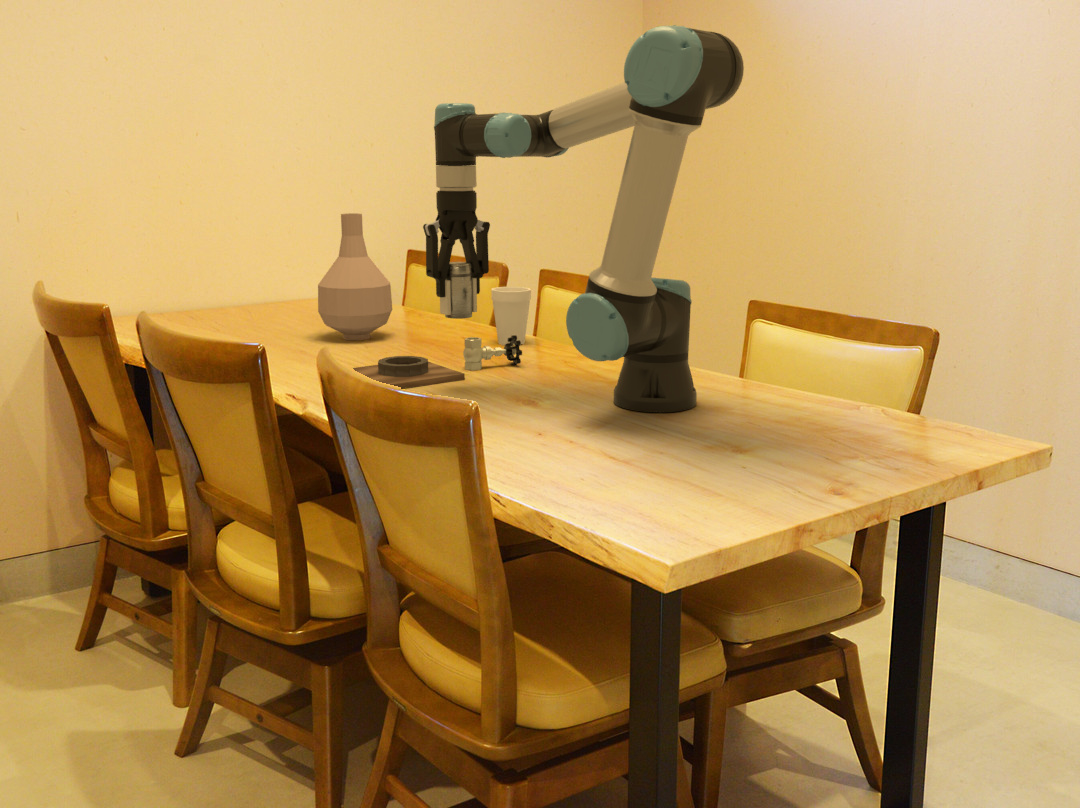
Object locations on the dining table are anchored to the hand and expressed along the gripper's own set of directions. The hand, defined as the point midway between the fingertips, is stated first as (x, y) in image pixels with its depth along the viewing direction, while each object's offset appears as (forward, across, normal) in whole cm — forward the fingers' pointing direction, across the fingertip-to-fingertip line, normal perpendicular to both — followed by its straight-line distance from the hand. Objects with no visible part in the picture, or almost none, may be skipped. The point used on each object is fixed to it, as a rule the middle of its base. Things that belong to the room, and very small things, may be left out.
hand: (458, 312), depth 196 cm
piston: (+1, 0, 0) cm, 1 cm away
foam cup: (+15, -34, -32) cm, 49 cm away
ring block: (+15, +5, -14) cm, 21 cm away
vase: (+15, -7, -60) cm, 62 cm away
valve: (+15, -15, -12) cm, 24 cm away
